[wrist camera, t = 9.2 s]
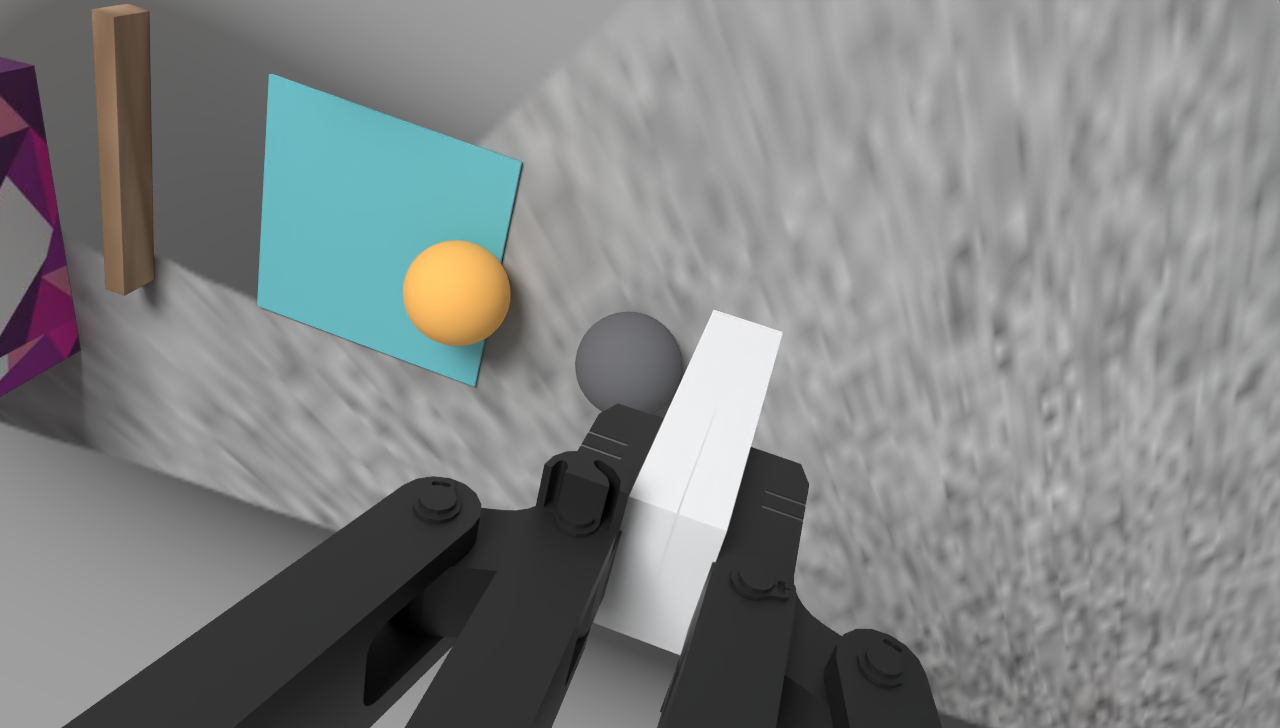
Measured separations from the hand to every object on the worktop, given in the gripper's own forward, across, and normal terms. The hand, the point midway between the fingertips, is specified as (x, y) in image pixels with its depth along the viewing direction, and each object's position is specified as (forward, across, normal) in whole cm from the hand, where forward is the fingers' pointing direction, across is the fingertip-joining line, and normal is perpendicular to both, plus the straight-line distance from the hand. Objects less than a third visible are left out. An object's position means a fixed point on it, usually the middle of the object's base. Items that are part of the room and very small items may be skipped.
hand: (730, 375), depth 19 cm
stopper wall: (+24, -36, -13) cm, 45 cm away
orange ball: (+22, -15, -14) cm, 30 cm away
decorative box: (+24, -51, -19) cm, 59 cm away
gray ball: (+22, -6, -14) cm, 27 cm away
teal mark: (+25, -21, -13) cm, 35 cm away
